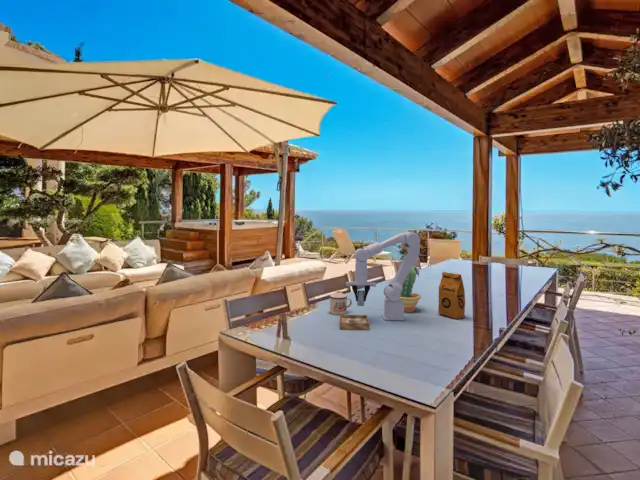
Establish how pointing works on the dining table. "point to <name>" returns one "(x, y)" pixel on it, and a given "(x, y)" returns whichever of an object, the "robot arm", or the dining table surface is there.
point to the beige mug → (339, 303)
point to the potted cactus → (410, 291)
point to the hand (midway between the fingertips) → (360, 300)
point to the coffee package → (451, 296)
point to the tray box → (354, 322)
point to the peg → (360, 298)
